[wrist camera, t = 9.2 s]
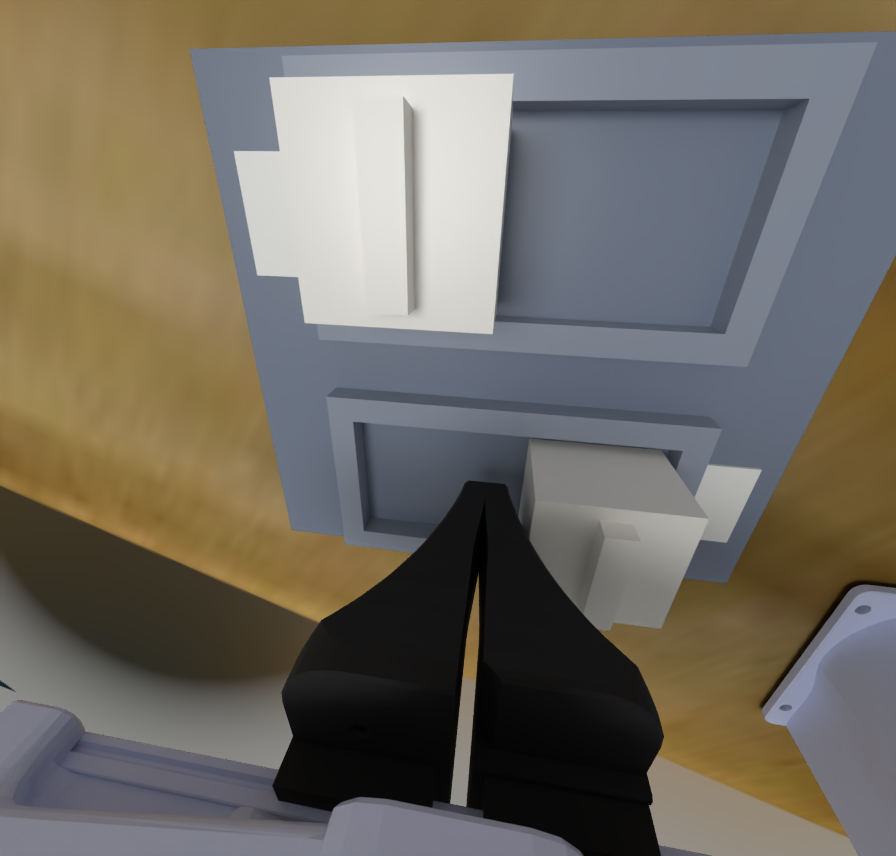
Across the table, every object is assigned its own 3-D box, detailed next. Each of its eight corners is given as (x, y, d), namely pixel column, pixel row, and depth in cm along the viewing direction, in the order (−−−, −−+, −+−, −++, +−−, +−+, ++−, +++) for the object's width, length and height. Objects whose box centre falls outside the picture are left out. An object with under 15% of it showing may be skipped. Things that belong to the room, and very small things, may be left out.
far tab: (629, 546, 14) (668, 649, 10) (515, 533, 14) (517, 627, 11) (661, 449, 12) (721, 536, 8) (529, 438, 12) (537, 516, 9)
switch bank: (706, 551, 16) (737, 602, 13) (309, 505, 17) (281, 543, 15) (930, 60, 9) (1066, 6, 7) (231, 73, 11) (162, 33, 8)
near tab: (497, 306, 11) (491, 342, 7) (356, 299, 11) (290, 329, 8) (512, 124, 9) (513, 58, 5) (342, 124, 9) (247, 63, 6)
